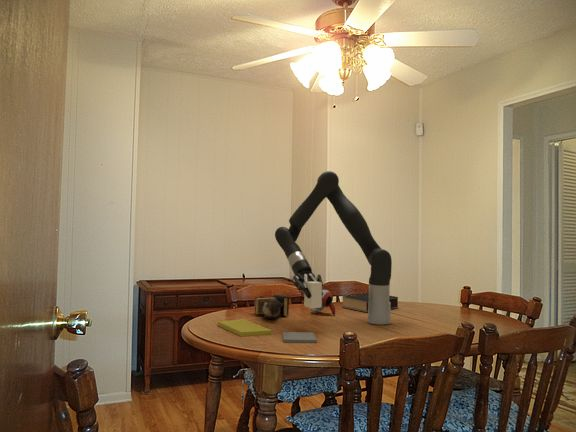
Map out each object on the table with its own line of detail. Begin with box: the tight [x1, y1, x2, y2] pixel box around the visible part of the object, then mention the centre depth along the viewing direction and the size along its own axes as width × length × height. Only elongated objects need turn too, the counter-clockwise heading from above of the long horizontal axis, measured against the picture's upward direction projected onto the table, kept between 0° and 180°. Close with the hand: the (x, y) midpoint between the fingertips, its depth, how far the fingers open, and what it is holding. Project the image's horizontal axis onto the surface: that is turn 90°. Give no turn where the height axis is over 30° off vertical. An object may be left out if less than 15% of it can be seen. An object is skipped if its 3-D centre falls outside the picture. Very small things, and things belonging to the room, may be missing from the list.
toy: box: [311, 289, 336, 317], centre depth 221 cm, size 14×15×14 cm
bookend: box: [253, 294, 290, 320], centre depth 208 cm, size 14×11×24 cm
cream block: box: [303, 281, 323, 309], centre depth 181 cm, size 5×5×10 cm
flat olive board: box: [217, 318, 273, 337], centre depth 181 cm, size 12×2×24 cm
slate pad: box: [282, 331, 318, 344], centre depth 169 cm, size 12×12×1 cm
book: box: [341, 293, 399, 313], centre depth 239 cm, size 17×25×7 cm
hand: (315, 296), depth 180 cm, fingers closed on cream block, 5 cm apart
